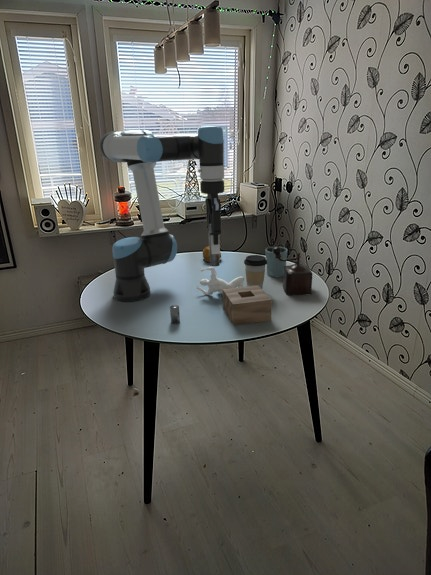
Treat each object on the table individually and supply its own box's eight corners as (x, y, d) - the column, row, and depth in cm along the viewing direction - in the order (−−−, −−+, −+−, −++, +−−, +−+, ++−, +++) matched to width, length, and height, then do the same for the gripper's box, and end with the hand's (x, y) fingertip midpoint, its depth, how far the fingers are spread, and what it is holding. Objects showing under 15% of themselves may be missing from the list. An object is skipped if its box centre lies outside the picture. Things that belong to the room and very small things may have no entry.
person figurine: (240, 264, 159) (200, 263, 151) (253, 280, 149) (211, 280, 141) (233, 291, 165) (194, 291, 158) (244, 308, 155) (204, 308, 148)
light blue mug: (281, 279, 172) (282, 253, 167) (261, 275, 177) (261, 250, 172) (289, 272, 180) (290, 248, 175) (270, 269, 185) (270, 245, 180)
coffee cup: (242, 288, 163) (242, 254, 157) (264, 287, 163) (265, 253, 158) (245, 297, 154) (245, 261, 148) (268, 295, 154) (269, 260, 149)
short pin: (170, 320, 136) (169, 305, 134) (179, 319, 137) (178, 304, 134) (171, 324, 133) (170, 309, 131) (180, 323, 134) (179, 308, 131)
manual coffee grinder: (306, 284, 165) (308, 244, 158) (311, 294, 155) (315, 252, 148) (270, 285, 165) (271, 245, 158) (273, 295, 155) (275, 253, 148)
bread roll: (201, 256, 207) (201, 242, 204) (219, 255, 208) (219, 241, 205) (203, 263, 195) (202, 248, 192) (222, 262, 196) (221, 247, 193)
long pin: (209, 264, 130) (207, 223, 125) (218, 263, 131) (217, 222, 125) (211, 266, 127) (209, 225, 122) (220, 265, 128) (219, 224, 123)
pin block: (222, 308, 144) (222, 289, 141) (257, 304, 147) (258, 285, 144) (233, 325, 132) (232, 304, 129) (271, 320, 134) (271, 299, 131)
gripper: (196, 178, 125) (199, 246, 134) (205, 183, 110) (208, 260, 119) (218, 177, 127) (220, 245, 135) (230, 181, 112) (231, 257, 120)
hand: (214, 251), depth 127 cm, fingers closed on long pin, 3 cm apart
